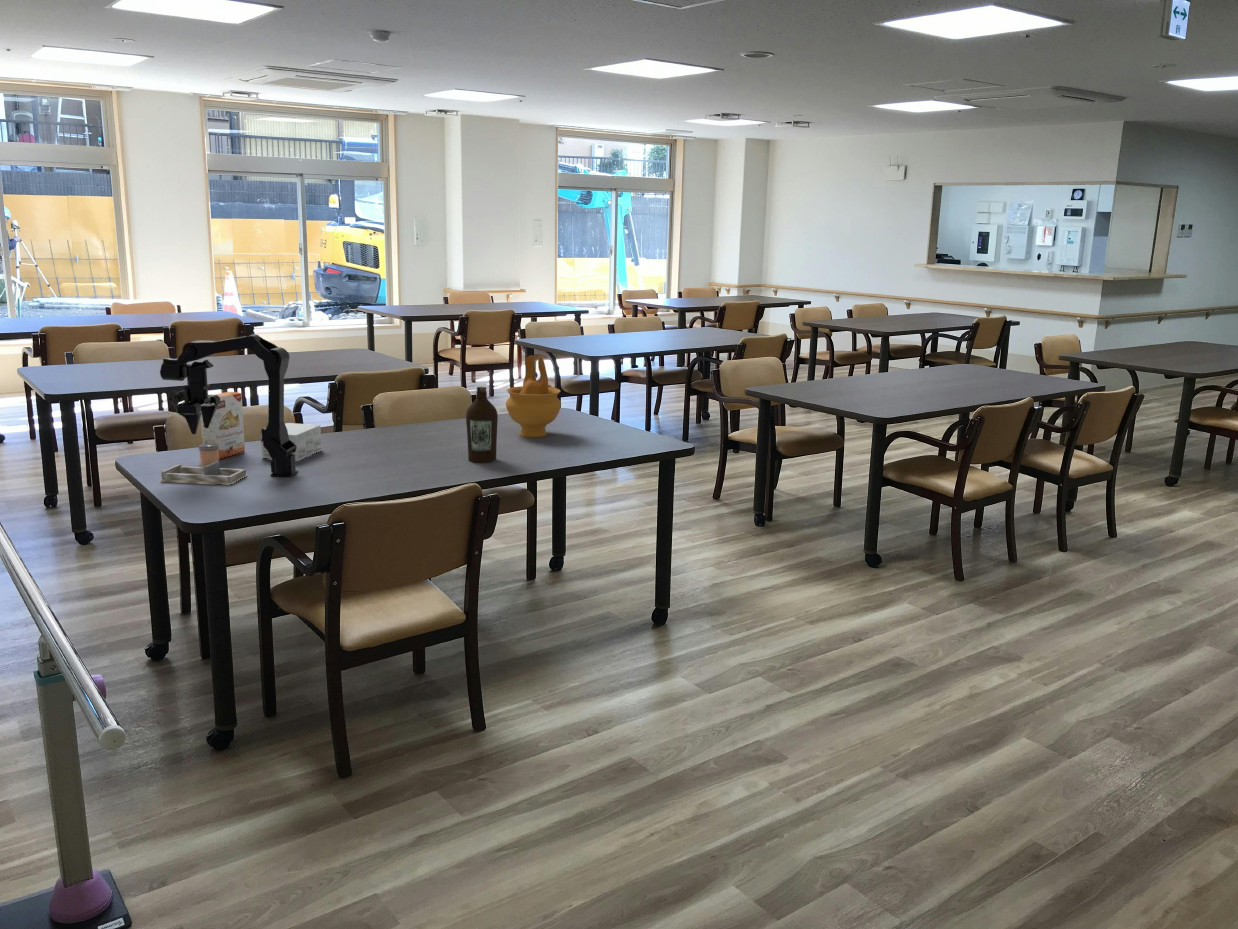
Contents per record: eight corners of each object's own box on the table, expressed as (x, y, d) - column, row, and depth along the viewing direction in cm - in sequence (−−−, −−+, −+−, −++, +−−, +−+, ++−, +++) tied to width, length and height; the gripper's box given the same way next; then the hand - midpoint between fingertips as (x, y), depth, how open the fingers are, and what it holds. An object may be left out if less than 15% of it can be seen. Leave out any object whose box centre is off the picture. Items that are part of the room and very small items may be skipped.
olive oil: (468, 456, 339) (467, 384, 333) (499, 456, 339) (498, 384, 333) (464, 463, 328) (463, 389, 322) (496, 463, 329) (496, 390, 323)
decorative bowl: (494, 434, 374) (493, 356, 367) (529, 426, 391) (530, 351, 383) (537, 442, 362) (537, 361, 355) (572, 433, 379) (572, 356, 372)
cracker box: (217, 461, 324) (212, 398, 319) (202, 459, 326) (197, 397, 321) (246, 452, 337) (242, 392, 332) (232, 450, 339) (228, 390, 334)
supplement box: (288, 448, 345) (286, 422, 343) (322, 451, 342) (321, 424, 340) (261, 459, 329) (259, 431, 326) (297, 462, 326) (295, 434, 324)
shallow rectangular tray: (247, 476, 306) (246, 466, 305) (230, 485, 295) (229, 475, 295) (180, 472, 308) (179, 463, 307) (160, 481, 298) (159, 472, 297)
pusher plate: (219, 474, 305) (218, 461, 304) (208, 479, 298) (207, 466, 297) (216, 474, 305) (215, 461, 304) (204, 479, 298) (203, 466, 297)
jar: (223, 468, 315) (221, 443, 313) (214, 472, 310) (212, 447, 308) (206, 467, 316) (204, 443, 314) (197, 471, 310) (195, 447, 308)
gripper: (184, 375, 313) (187, 423, 317) (157, 385, 295) (160, 436, 298) (219, 377, 313) (222, 425, 316) (194, 387, 295) (197, 437, 298)
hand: (200, 431), depth 307 cm, fingers open, 9 cm apart
